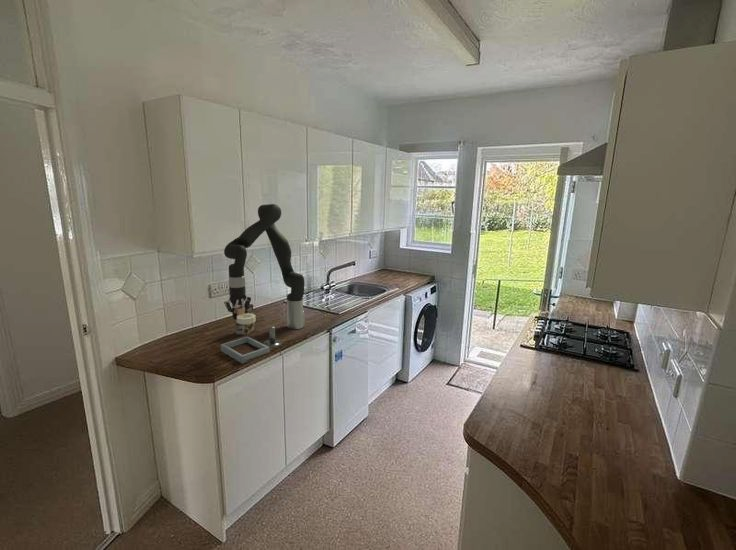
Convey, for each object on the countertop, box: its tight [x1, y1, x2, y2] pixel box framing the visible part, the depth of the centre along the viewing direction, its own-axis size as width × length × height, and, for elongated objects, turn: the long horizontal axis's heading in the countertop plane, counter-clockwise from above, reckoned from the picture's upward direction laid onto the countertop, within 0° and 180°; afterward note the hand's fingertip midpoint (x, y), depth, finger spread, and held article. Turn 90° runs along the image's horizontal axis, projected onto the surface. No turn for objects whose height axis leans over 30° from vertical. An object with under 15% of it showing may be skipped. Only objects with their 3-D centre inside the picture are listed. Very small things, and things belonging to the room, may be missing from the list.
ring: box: [236, 307, 257, 324], centre depth 176 cm, size 9×13×5 cm, turn 49°
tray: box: [220, 336, 271, 365], centre depth 179 cm, size 15×20×4 cm
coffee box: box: [235, 303, 255, 336], centre depth 203 cm, size 9×6×16 cm
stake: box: [262, 325, 283, 348], centre depth 189 cm, size 10×10×10 cm
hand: (238, 318), depth 179 cm, fingers closed on ring, 3 cm apart
